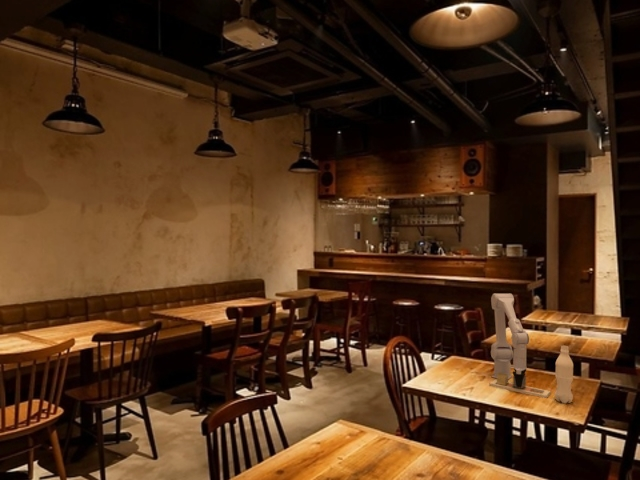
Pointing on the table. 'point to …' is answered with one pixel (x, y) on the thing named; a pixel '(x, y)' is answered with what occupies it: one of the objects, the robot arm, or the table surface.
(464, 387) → the table surface
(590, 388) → the table surface
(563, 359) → the water bottle
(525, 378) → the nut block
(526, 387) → the beige rectangular frame
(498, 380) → the brass block
